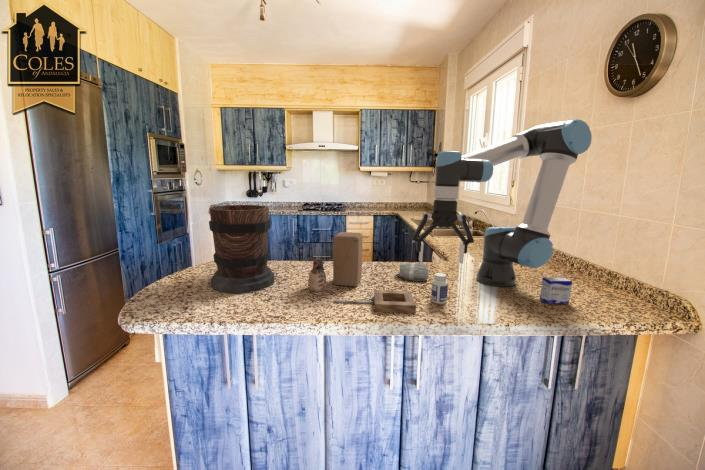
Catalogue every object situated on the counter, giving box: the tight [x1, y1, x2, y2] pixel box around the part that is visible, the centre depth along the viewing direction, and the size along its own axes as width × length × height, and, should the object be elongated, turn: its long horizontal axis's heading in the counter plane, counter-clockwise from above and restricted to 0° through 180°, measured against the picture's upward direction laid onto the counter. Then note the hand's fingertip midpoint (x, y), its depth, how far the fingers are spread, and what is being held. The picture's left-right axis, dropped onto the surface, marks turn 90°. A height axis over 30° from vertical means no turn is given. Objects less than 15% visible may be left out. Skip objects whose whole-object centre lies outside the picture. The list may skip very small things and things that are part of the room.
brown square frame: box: [333, 289, 417, 314], centre depth 111 cm, size 27×13×2 cm, turn 87°
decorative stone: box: [398, 261, 429, 282], centre depth 139 cm, size 13×10×6 cm
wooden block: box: [332, 231, 363, 288], centre depth 130 cm, size 10×10×20 cm
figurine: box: [307, 257, 328, 293], centre depth 123 cm, size 7×7×12 cm
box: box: [539, 276, 573, 305], centre depth 114 cm, size 8×4×9 cm, turn 94°
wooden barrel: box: [208, 204, 275, 294], centre depth 130 cm, size 24×30×30 cm
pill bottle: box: [430, 272, 449, 305], centre depth 113 cm, size 5×5×10 cm
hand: (440, 261), depth 111 cm, fingers open, 13 cm apart
